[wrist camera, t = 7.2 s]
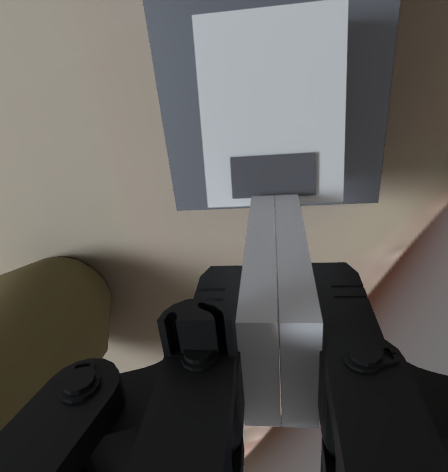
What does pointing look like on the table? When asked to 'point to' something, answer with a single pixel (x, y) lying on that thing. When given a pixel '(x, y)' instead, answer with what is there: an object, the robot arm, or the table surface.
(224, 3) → the switch strip
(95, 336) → the squeeze bottle
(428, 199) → the table surface
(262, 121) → the plate
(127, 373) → the robot arm
